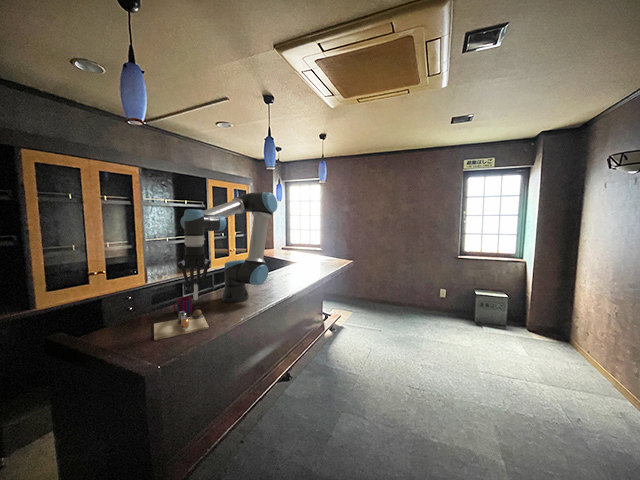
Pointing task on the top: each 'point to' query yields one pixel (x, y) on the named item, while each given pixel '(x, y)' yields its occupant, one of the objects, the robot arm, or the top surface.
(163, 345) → the top surface
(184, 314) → the lever
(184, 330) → the press base
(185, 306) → the mug
